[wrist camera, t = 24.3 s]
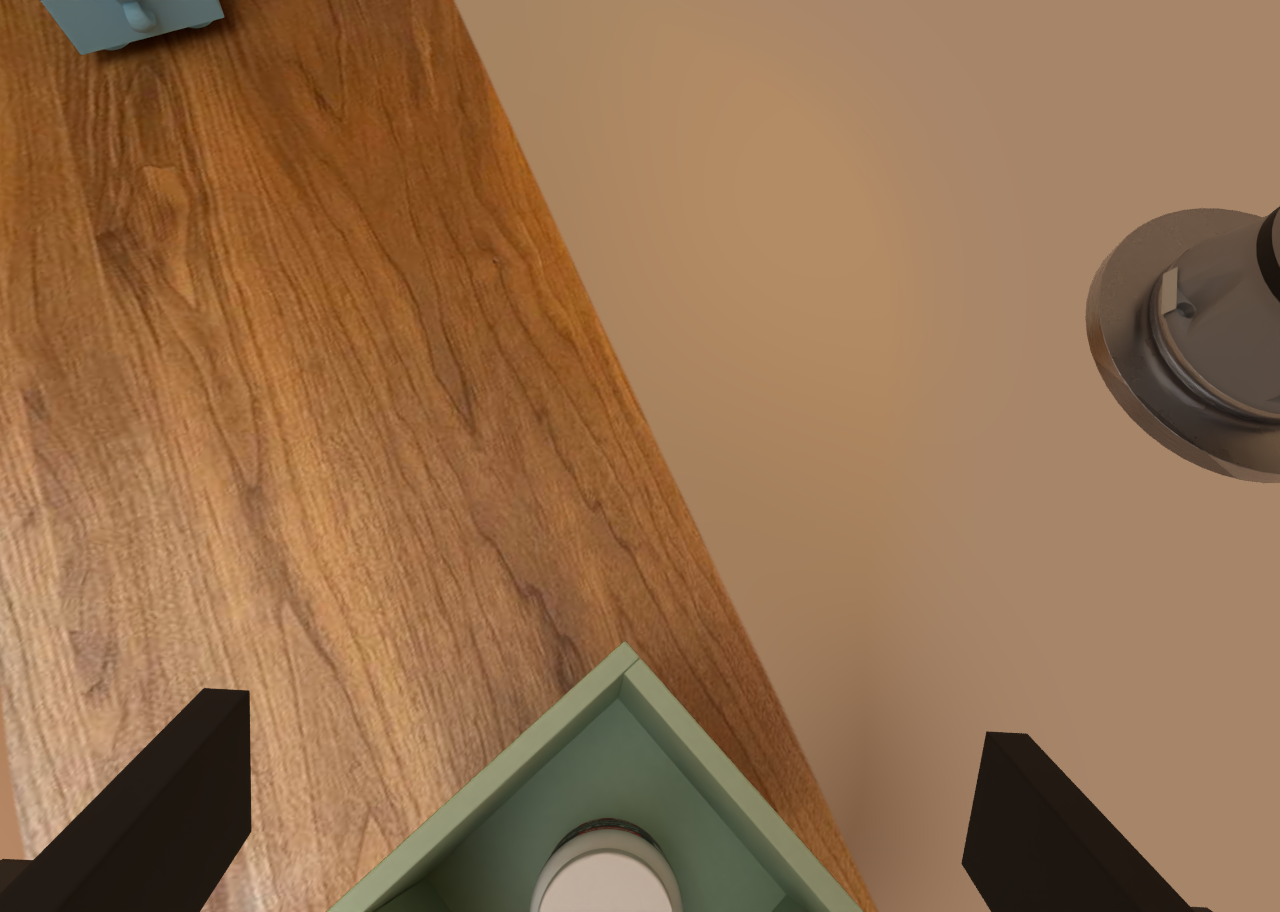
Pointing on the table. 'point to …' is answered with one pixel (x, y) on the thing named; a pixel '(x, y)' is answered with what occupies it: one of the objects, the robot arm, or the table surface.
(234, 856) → the robot arm
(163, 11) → the teapot
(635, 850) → the pill bottle
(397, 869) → the waste bin
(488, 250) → the table surface
